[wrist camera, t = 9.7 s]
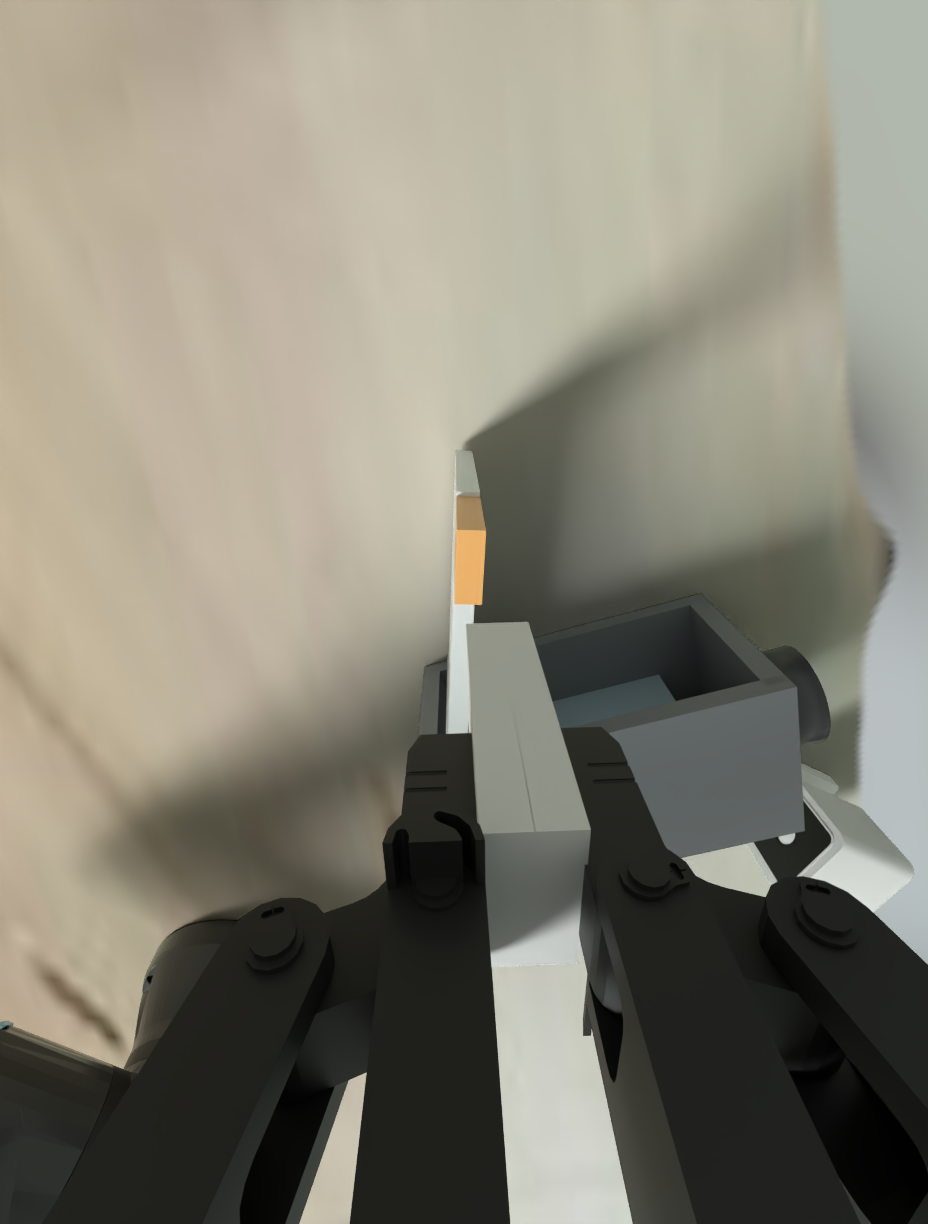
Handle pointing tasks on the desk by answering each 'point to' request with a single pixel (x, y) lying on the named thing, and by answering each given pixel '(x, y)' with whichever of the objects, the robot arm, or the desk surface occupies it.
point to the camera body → (684, 717)
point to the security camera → (835, 847)
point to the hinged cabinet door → (463, 585)
